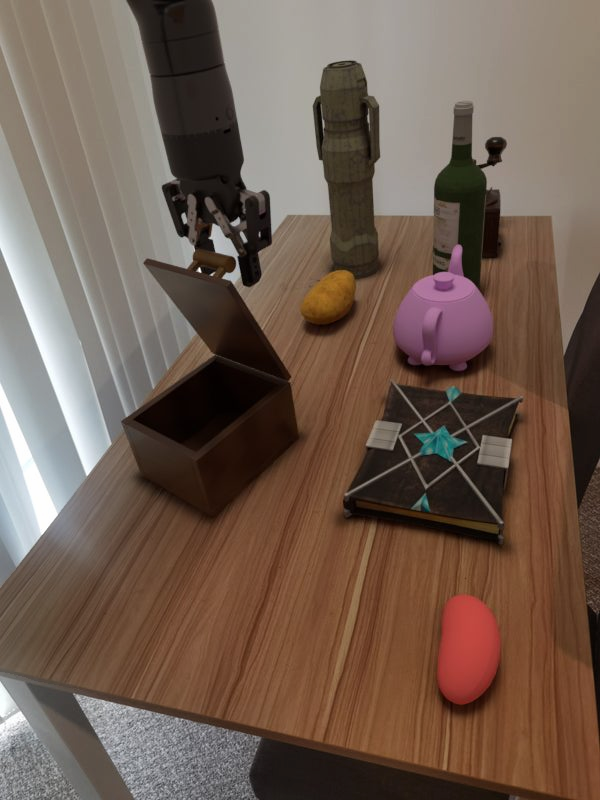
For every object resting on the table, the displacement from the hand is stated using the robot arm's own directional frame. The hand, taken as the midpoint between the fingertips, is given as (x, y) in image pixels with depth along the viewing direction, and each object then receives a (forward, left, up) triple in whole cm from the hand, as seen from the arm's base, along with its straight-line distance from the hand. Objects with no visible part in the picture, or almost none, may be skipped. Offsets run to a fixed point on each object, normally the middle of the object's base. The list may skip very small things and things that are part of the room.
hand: (230, 277), depth 68 cm
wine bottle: (+38, -24, -22) cm, 50 cm away
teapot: (+20, -23, -22) cm, 37 cm away
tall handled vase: (+47, -5, -22) cm, 52 cm away
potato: (+29, -4, -22) cm, 36 cm away
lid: (-3, +1, -5) cm, 6 cm away
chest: (-7, +3, -22) cm, 23 cm away
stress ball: (-29, -28, -22) cm, 46 cm away
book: (-5, -24, -22) cm, 33 cm away
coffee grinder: (+59, -26, -22) cm, 68 cm away
